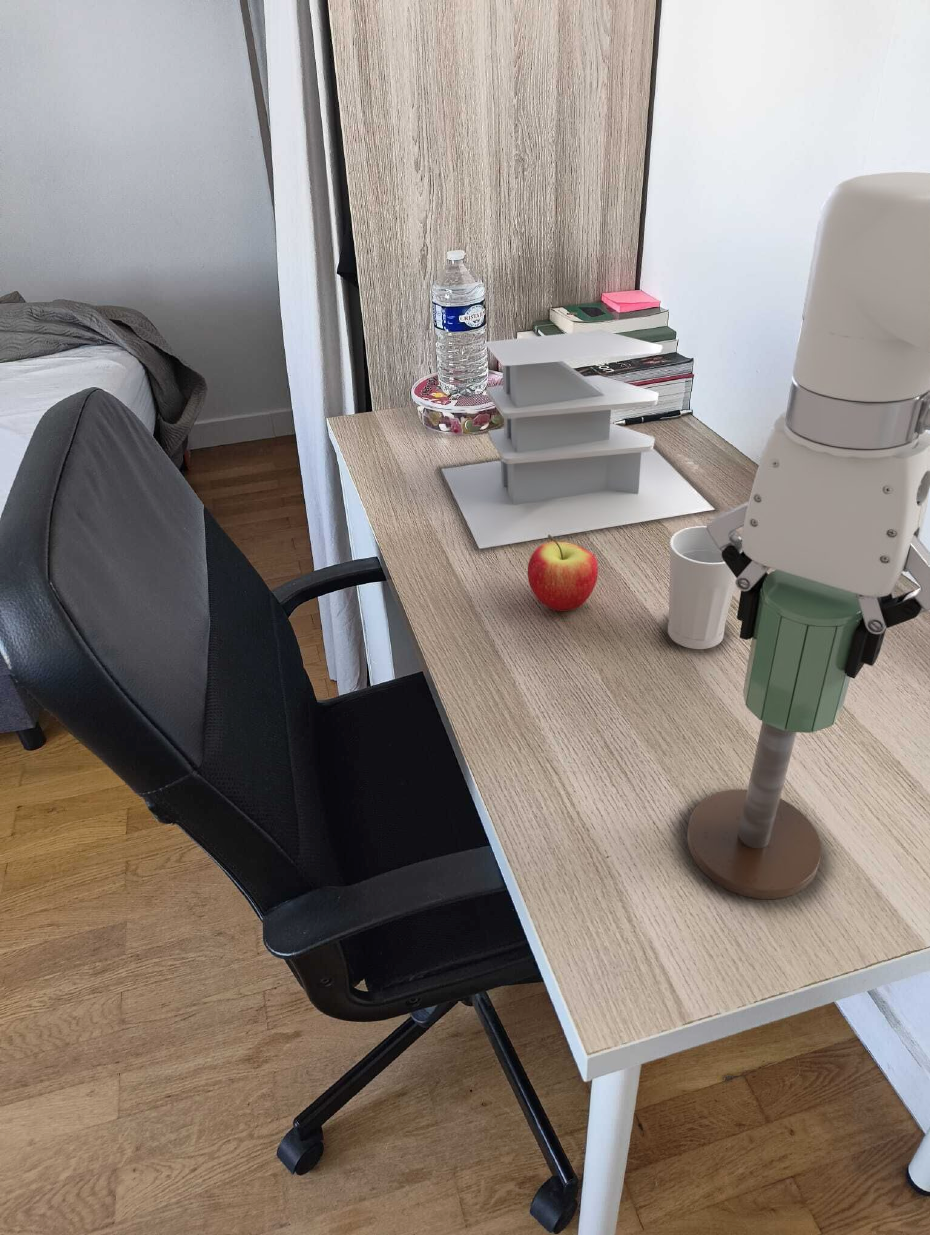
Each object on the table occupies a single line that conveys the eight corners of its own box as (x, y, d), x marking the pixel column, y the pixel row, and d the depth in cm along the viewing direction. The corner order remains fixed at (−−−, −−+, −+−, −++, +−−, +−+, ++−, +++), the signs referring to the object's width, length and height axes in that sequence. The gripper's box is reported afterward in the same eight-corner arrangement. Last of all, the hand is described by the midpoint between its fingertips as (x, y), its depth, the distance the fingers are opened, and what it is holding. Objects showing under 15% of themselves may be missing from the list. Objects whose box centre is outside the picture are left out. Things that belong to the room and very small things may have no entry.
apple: (524, 587, 108) (523, 518, 102) (589, 582, 108) (593, 513, 102) (532, 625, 101) (531, 554, 95) (602, 620, 101) (606, 549, 95)
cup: (738, 652, 95) (754, 562, 88) (666, 654, 95) (677, 565, 88) (722, 611, 101) (735, 524, 94) (655, 613, 102) (664, 527, 95)
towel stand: (838, 835, 74) (882, 697, 64) (788, 923, 67) (829, 783, 58) (721, 779, 80) (745, 645, 70) (664, 855, 73) (683, 718, 64)
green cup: (853, 694, 63) (883, 582, 57) (819, 745, 59) (848, 631, 53) (766, 662, 67) (786, 554, 61) (728, 708, 63) (746, 597, 57)
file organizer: (441, 469, 136) (431, 334, 123) (643, 438, 142) (654, 306, 129) (479, 548, 116) (472, 397, 103) (714, 509, 121) (735, 360, 108)
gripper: (1035, 417, 47) (949, 664, 58) (742, 366, 57) (713, 586, 67) (1003, 467, 43) (915, 725, 53) (690, 402, 52) (667, 633, 63)
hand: (803, 646), depth 60 cm, fingers closed on green cup, 6 cm apart
